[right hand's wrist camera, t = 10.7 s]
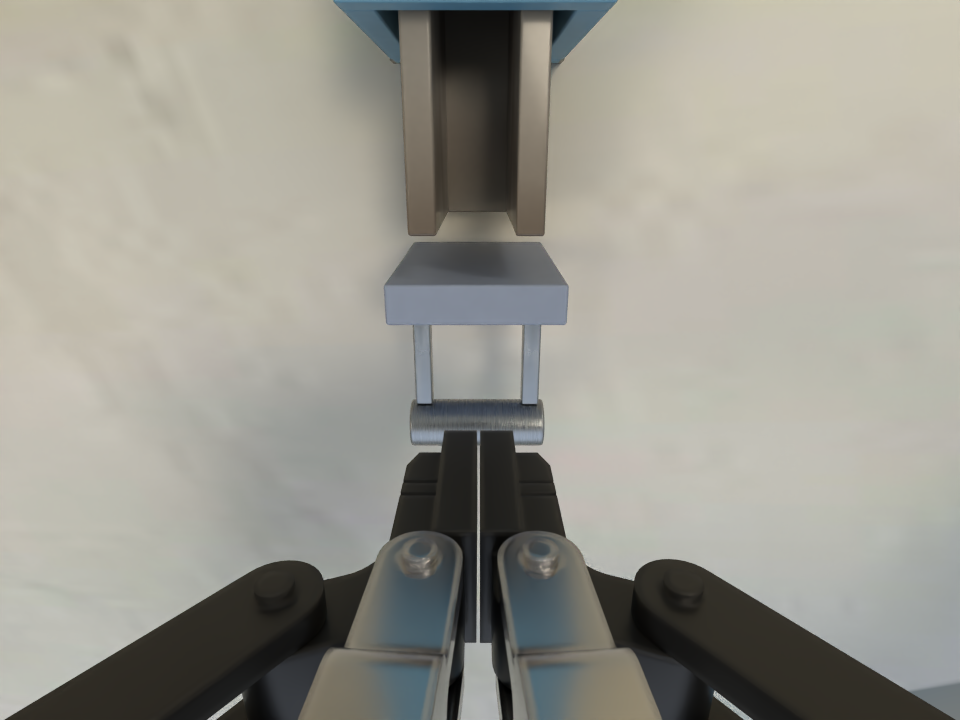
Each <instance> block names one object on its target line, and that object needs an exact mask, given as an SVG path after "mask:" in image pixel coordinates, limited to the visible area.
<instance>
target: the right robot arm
mask: <svg viewBox="0 0 960 720" xmlns="http://www.w3.org/2000/svg"><path fill="white" fill-rule="evenodd" d="M476 613H477V430H444V435H443V443H442V451H441V453H419V454H418V455H417V456H416V457H415V458H414V459H413V460H412V461H411V462H410V463H409V464H408V465H407V467H406V472H405V476H404V483H403V485H402V489H401V495H400V498H399V502H398V506H397V511H396V515H395V519H394V524H393V528H392V532H391V536H390V541H389V542H387V543H386V544H385V545H384V546H383V547H382V549H381V550H380V551H379V553H378V555H377V558H376V561H375V562H374V563H372V564H371V565H369V566H368V567H366V568H364V569H362V570H360V571H357V572H355V573H351V574H348V575H344V576H340V577H336V578H332V579H327V580H323V577H322V575H321V573H320V572H319V570H317V569H316V568H315V567H314V566H312V565H310V564H308V563H305V562H301V561H290V560H288V561H279V562H274V563H270V564H267V565H264V566H261V567H259V568H257V569H255V570H253V571H251V572H249V573H247V574H246V575H244V576H243V577H241V578H239V579H238V580H236V581H234V582H233V583H231V584H229V585H228V586H226V587H224V588H223V589H221V590H219V591H218V592H216V593H214V594H213V595H211V596H209V597H208V598H206V599H204V600H203V601H201V602H199V603H198V604H196V605H194V606H193V607H191V608H189V609H188V610H186V611H184V612H183V613H181V614H179V615H178V616H176V617H174V618H173V619H171V620H169V621H168V622H166V623H164V624H163V625H161V626H159V627H158V628H156V629H154V630H153V631H151V632H150V633H148V634H146V635H145V636H143V637H141V638H140V639H138V640H136V641H135V642H133V643H131V644H130V645H128V646H126V647H125V648H123V649H121V650H120V651H118V652H116V653H115V654H113V655H111V656H110V657H108V658H106V659H105V660H103V661H101V662H100V663H98V664H96V665H95V666H93V667H91V668H90V669H88V670H86V671H85V672H83V673H81V674H80V675H78V676H76V677H75V678H73V679H71V680H70V681H68V682H66V683H65V684H63V685H61V686H60V687H58V688H56V689H55V690H53V691H52V692H50V693H48V694H47V695H45V696H43V697H42V698H40V699H38V700H37V701H35V702H33V703H32V704H30V705H28V706H27V707H25V708H23V709H22V710H20V711H18V712H17V713H15V714H13V715H12V716H10V717H8V718H7V719H5V720H207V719H208V718H210V717H211V716H212V715H214V714H215V713H216V712H217V711H219V710H220V709H221V708H223V707H224V706H225V705H227V704H228V703H229V702H231V701H232V700H233V699H234V698H236V697H237V696H238V695H240V694H241V693H242V695H243V699H242V700H241V701H240V702H238V703H237V704H236V705H235V706H233V707H232V708H231V709H229V710H228V711H227V712H226V713H224V714H223V715H222V716H220V717H219V718H218V719H217V720H460V719H461V711H462V702H463V693H464V645H465V643H476ZM480 643H492V664H493V669H494V672H495V674H496V693H497V702H498V711H499V719H500V720H743V719H742V718H741V717H740V716H738V715H737V714H736V713H734V712H733V711H732V710H731V709H729V708H728V707H727V706H725V705H724V704H723V703H722V702H720V701H719V700H718V699H716V698H715V697H714V696H713V694H714V690H715V691H716V692H718V693H719V694H720V695H722V696H723V697H724V698H726V699H727V700H728V701H729V702H731V703H732V704H733V705H735V706H736V707H737V708H739V709H740V710H741V711H743V712H744V713H745V714H746V715H748V716H749V717H750V718H752V719H753V720H955V719H953V718H952V717H950V716H948V715H947V714H945V713H943V712H942V711H940V710H938V709H937V708H935V707H933V706H932V705H930V704H928V703H927V702H925V701H923V700H922V699H920V698H918V697H917V696H915V695H913V694H912V693H910V692H908V691H907V690H905V689H903V688H902V687H900V686H899V685H897V684H895V683H894V682H892V681H890V680H889V679H887V678H885V677H884V676H882V675H880V674H879V673H877V672H875V671H874V670H872V669H870V668H869V667H867V666H865V665H864V664H862V663H860V662H859V661H857V660H855V659H854V658H852V657H850V656H849V655H847V654H845V653H844V652H842V651H840V650H839V649H837V648H835V647H834V646H832V645H830V644H829V643H827V642H825V641H824V640H822V639H820V638H819V637H817V636H815V635H814V634H812V633H810V632H809V631H807V630H805V629H804V628H802V627H801V626H799V625H797V624H796V623H794V622H792V621H791V620H789V619H787V618H786V617H784V616H782V615H781V614H779V613H777V612H776V611H774V610H772V609H771V608H769V607H767V606H766V605H764V604H762V603H761V602H759V601H757V600H756V599H754V598H752V597H751V596H749V595H747V594H746V593H744V592H742V591H741V590H739V589H737V588H736V587H734V586H732V585H731V584H729V583H727V582H726V581H724V580H722V579H721V578H719V577H717V576H716V575H714V574H712V573H711V572H709V571H707V570H706V569H704V568H702V567H700V566H697V565H695V564H692V563H689V562H686V561H681V560H673V559H662V560H656V561H652V562H649V563H647V564H645V565H644V566H642V567H641V568H640V569H639V570H638V572H637V573H636V576H635V579H634V581H632V580H628V579H623V578H619V577H615V576H611V575H607V574H604V573H601V572H598V571H596V570H594V569H592V568H590V567H588V566H586V564H585V561H584V558H583V555H582V553H581V551H580V550H579V549H578V547H577V546H576V545H575V544H574V543H573V542H571V541H570V540H568V539H567V538H566V535H565V531H564V526H563V522H562V517H561V513H560V508H559V504H558V499H557V496H556V490H555V486H554V483H553V477H552V472H551V468H550V465H549V464H548V463H547V462H546V461H545V460H544V459H543V458H542V457H541V456H540V455H539V454H538V453H516V452H515V443H514V435H513V430H480Z"/></svg>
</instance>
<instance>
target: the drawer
mask: <svg viewBox="0 0 960 720" xmlns="http://www.w3.org/2000/svg"><path fill="white" fill-rule="evenodd" d="M398 21H399V43H400V66H401V88H402V111H403V133H404V156H405V179H406V201H407V224H408V234H409V235H410V236H435V235H436V234H437V232H438V230H439V228H440V226H441V224H442V222H443V220H444V218H445V216H446V214H447V212H507V214H508V216H509V219H510V221H511V223H512V226H513V228H514V231H515V233H516V235H517V236H543V235H544V233H545V208H546V183H547V157H548V132H549V106H550V81H551V55H552V30H553V10H398ZM568 289H569V287H568V284H567V283H566V281H565V280H564V278H563V277H562V275H561V274H560V272H559V270H558V269H557V267H556V266H555V264H554V263H553V261H552V260H551V258H550V257H549V255H548V253H547V252H546V250H545V249H544V247H543V246H542V244H541V243H540V242H415V243H414V244H413V245H412V247H411V248H410V250H409V251H408V252H407V254H406V255H405V257H404V258H403V260H402V261H401V262H400V264H399V265H398V267H397V268H396V270H395V271H394V272H393V274H392V275H391V277H390V278H389V280H388V281H387V282H386V284H385V286H384V296H385V312H386V323H387V324H388V325H413V341H414V363H415V386H416V399H414V400H413V401H412V403H411V410H410V438H411V443H412V445H442V443H443V435H444V430H477V445H480V430H513V435H514V443H515V445H542V444H543V440H544V408H543V402H542V400H540V399H538V391H539V366H540V340H541V325H565V324H566V323H567V307H568ZM432 325H522V361H521V399H434V388H433V356H432Z"/></svg>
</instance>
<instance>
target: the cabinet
mask: <svg viewBox="0 0 960 720" xmlns="http://www.w3.org/2000/svg"><path fill="white" fill-rule="evenodd" d="M333 1H334V3H335V4H336V5H337V6H338V7H339V8H340V9H342V11H343V12H344V13H345V14H346V15H347V16H348V17H349V18H350V19H351V20H352V21H353V22H354V23H355V24H356V25H357V26H358V27H359V28H360V29H361V30H362V31H363V32H364V33H365V34H366V35H367V36H368V37H369V38H370V39H371V40H372V41H373V42H374V43H375V44H376V45H377V46H378V47H379V48H380V49H381V50H382V51H383V52H384V53H385V54H386V55H387V56H388V57H389V58H390V60H391V61H392V62H393V63H400V43H399V21H398V10H553V30H552V55H551V63H562V62H563V61H564V58H565V57H566V56H567V55H568V54H569V52H570V51H571V50H572V49H573V48H574V47H575V46H576V45H577V44H578V43H579V42H580V41H581V40H582V38H583V37H584V36H585V35H586V34H587V33H588V32H589V31H590V30H591V29H592V28H593V27H594V26H595V25H596V23H597V22H598V21H599V20H600V19H601V18H602V17H603V16H604V15H605V14H606V13H607V12H608V11H609V9H611V8H612V7H613V5H614V4H615V3H616V2H617V0H333Z"/></svg>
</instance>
